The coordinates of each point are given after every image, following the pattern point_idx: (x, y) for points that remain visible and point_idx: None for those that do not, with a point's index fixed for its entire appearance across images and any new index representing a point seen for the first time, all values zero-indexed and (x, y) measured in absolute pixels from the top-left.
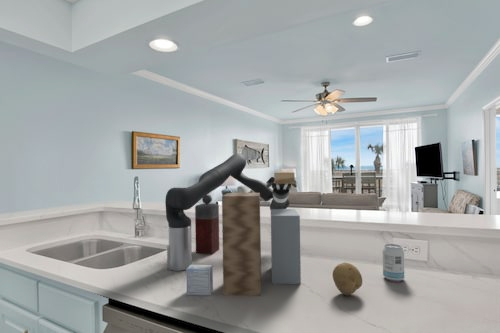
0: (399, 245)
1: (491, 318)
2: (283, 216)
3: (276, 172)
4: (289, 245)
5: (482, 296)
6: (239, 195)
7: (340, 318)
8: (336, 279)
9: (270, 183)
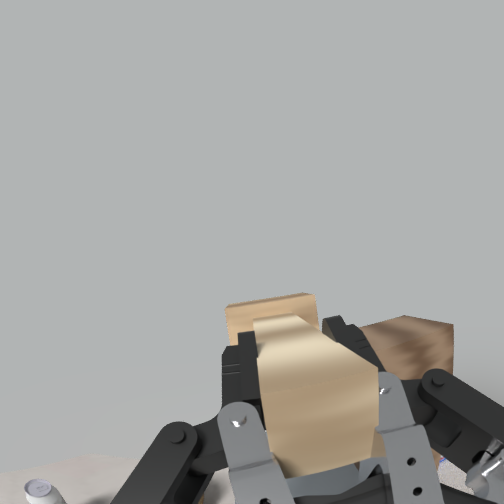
0: (25, 484)
1: (75, 458)
2: None
3: (303, 296)
4: None
5: (31, 473)
6: (380, 325)
7: (224, 470)
8: None
9: (441, 426)
